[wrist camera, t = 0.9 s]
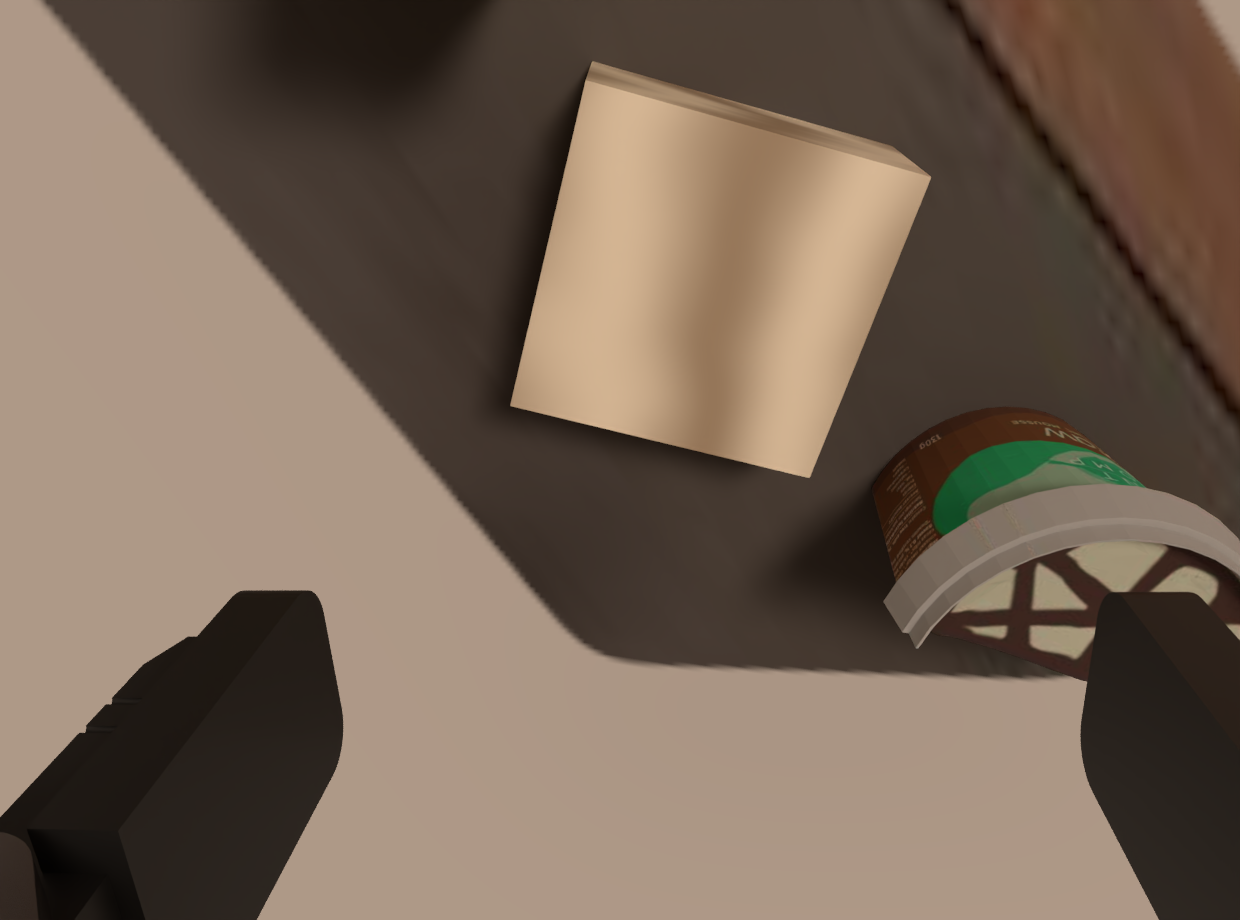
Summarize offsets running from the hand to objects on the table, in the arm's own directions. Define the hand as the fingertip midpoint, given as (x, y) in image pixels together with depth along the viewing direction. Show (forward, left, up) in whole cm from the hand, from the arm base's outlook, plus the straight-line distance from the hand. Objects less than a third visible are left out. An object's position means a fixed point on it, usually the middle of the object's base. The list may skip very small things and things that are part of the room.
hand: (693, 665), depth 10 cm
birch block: (+2, -2, -25) cm, 25 cm away
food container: (+16, -6, -25) cm, 31 cm away
